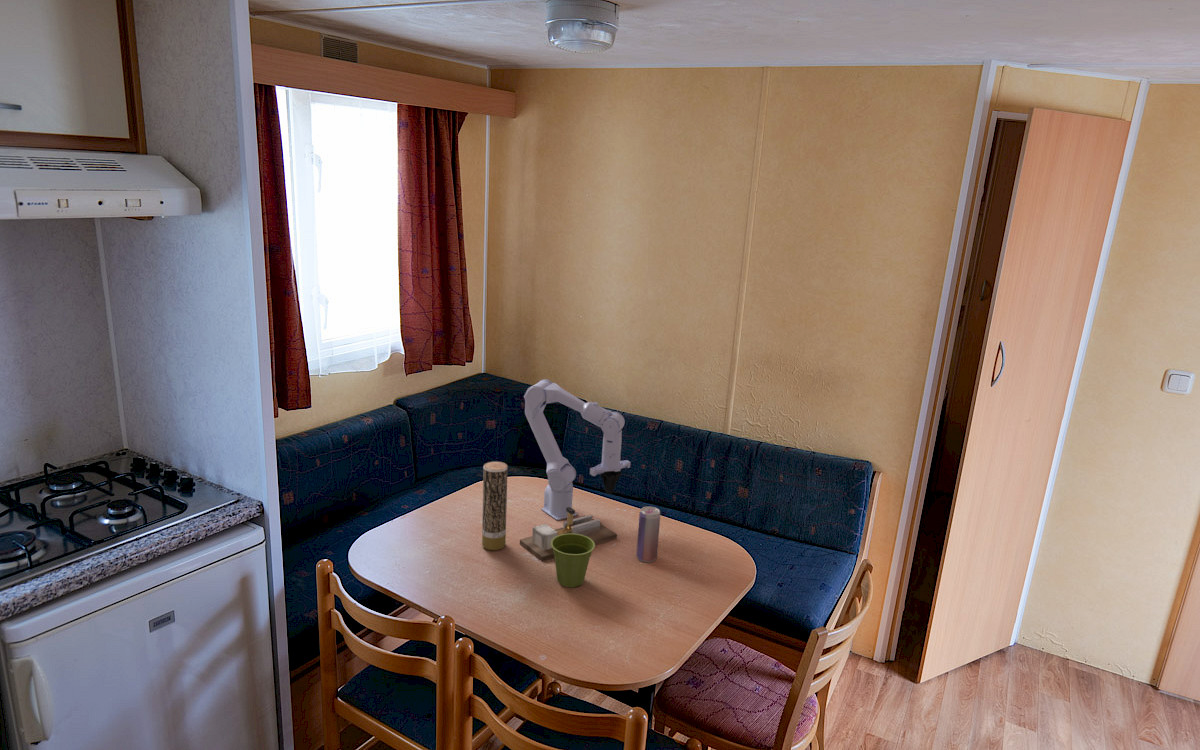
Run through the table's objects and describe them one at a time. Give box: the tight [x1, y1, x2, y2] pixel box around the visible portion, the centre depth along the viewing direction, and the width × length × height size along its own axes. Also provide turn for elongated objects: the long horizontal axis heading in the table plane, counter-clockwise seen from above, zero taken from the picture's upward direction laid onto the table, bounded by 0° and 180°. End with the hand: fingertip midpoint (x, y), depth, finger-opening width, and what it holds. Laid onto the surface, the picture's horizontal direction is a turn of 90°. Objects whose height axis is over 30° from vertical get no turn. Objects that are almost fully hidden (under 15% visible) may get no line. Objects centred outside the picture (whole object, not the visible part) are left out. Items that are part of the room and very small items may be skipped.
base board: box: [519, 518, 618, 562], centre depth 223 cm, size 12×27×2 cm, turn 127°
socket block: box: [531, 523, 558, 550], centre depth 217 cm, size 6×4×4 cm
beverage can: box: [635, 505, 661, 563], centre depth 214 cm, size 6×6×15 cm
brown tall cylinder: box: [481, 461, 509, 551], centre depth 215 cm, size 7×7×25 cm
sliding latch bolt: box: [556, 507, 576, 535], centre depth 219 cm, size 3×11×8 cm, turn 127°
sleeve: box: [563, 514, 601, 536], centre depth 225 cm, size 5×10×4 cm, turn 127°
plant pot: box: [551, 533, 596, 588], centre depth 200 cm, size 12×12×11 cm
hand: (608, 492), depth 234 cm, fingers closed
